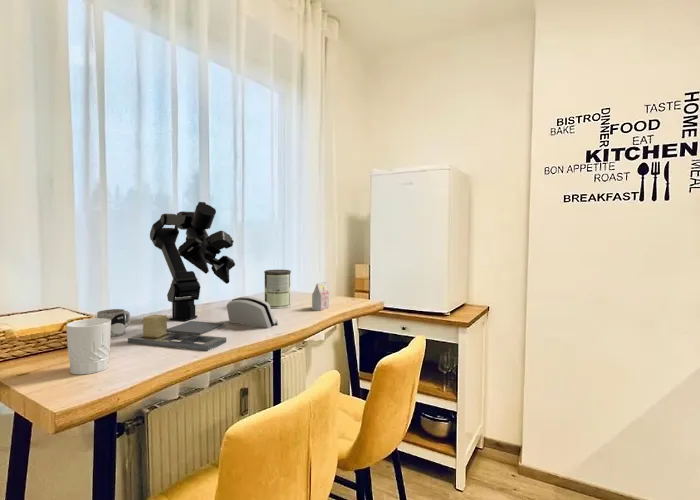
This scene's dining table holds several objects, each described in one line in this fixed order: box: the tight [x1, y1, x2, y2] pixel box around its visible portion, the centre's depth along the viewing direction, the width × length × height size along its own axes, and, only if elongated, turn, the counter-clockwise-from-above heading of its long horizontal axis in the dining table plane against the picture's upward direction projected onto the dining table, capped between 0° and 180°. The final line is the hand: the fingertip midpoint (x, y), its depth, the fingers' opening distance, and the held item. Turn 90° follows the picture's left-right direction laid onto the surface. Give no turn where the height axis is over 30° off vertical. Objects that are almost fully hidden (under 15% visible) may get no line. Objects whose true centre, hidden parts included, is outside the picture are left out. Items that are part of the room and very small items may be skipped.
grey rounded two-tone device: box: [226, 296, 279, 329], centre depth 123 cm, size 17×5×10 cm, turn 62°
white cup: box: [65, 317, 112, 376], centre depth 82 cm, size 8×8×10 cm
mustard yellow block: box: [142, 314, 168, 339], centre depth 104 cm, size 4×4×6 cm
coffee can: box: [263, 269, 292, 310], centre depth 153 cm, size 10×10×14 cm
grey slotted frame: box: [127, 332, 227, 352], centre depth 102 cm, size 24×8×1 cm, turn 75°
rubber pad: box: [167, 320, 225, 335], centre depth 117 cm, size 12×12×1 cm
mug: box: [96, 308, 131, 338], centre depth 111 cm, size 10×7×7 cm
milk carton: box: [311, 282, 330, 312], centre depth 149 cm, size 4×7×10 cm, turn 157°
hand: (217, 277), depth 111 cm, fingers open, 9 cm apart
